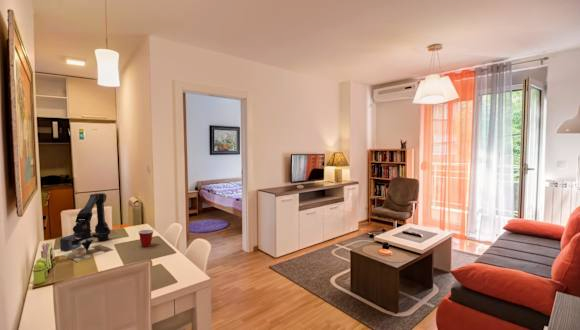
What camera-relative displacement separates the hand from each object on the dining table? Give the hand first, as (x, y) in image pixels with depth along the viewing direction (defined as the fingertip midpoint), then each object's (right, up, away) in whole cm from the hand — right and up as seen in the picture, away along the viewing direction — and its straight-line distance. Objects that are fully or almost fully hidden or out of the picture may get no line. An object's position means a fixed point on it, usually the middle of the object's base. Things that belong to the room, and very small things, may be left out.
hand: (86, 250), depth 195 cm
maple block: (-2, -2, -4) cm, 5 cm away
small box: (-17, -3, +8) cm, 19 cm away
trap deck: (+1, -3, +2) cm, 4 cm away
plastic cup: (+33, -2, +19) cm, 38 cm away
